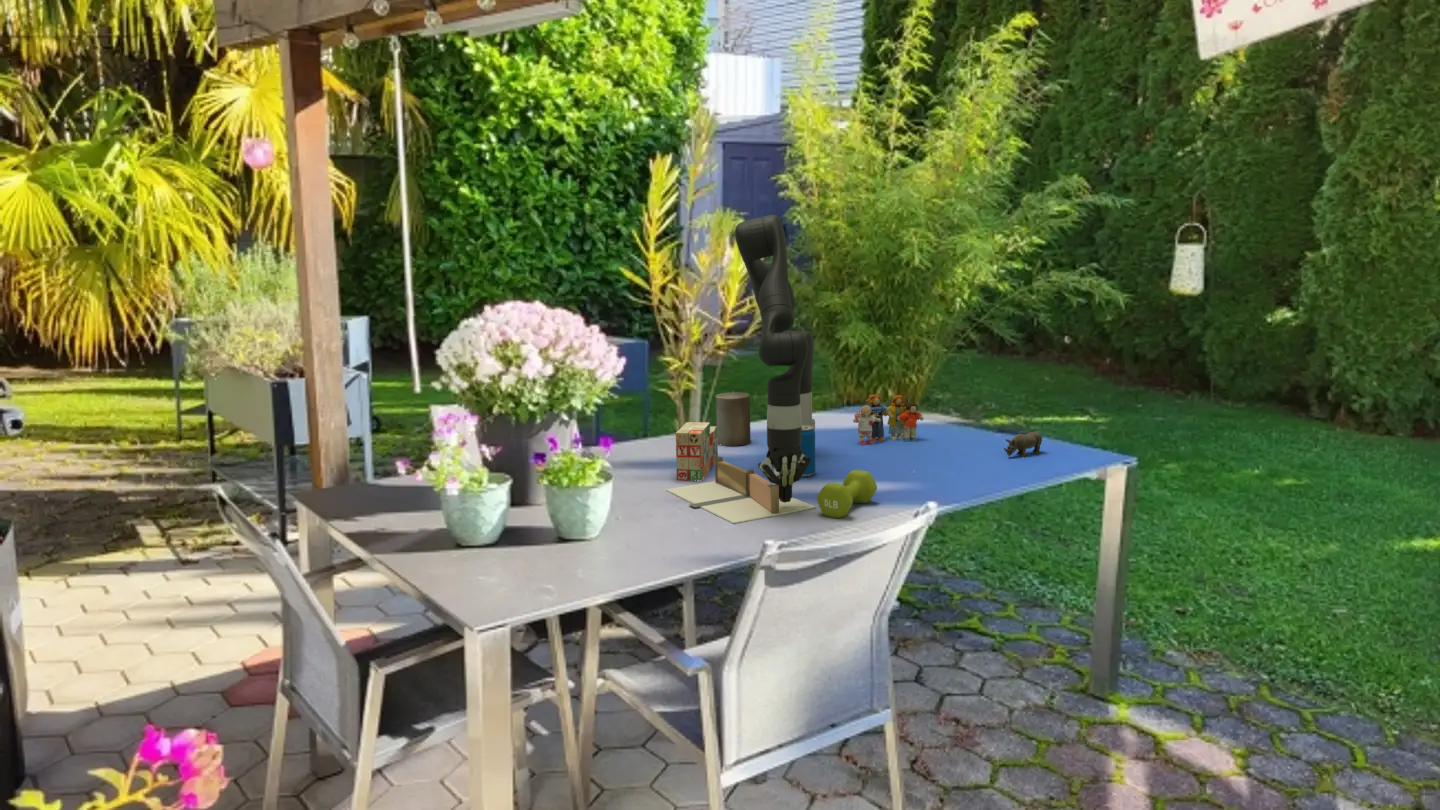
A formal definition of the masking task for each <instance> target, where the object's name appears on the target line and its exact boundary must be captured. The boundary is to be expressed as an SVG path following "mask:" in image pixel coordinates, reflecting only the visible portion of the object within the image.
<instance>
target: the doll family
mask: <svg viewBox="0 0 1440 810" xmlns="http://www.w3.org/2000/svg"><path fill="white" fill-rule="evenodd" d="M868 397H869V398H867V400H865V402H868V403H869V404H870V405H863V406H862V407H861V409H860V411H858V412H857V411H855V413H854V419H853V420H852V422H853V423H856V424H857V423H858V428H857V433H858V435H857V437H858V438H860V439H859V441H858V445H861V446H866V445H874V444H876V442H883V441H885V440H886V439H885V438H884V437H885V431H884V417H887V416H888V420H887V425H888V426H889V427H888V434H889V435H890V437H889V439H891V440H894V441H895V440H902V441H903V442H907V443H908V442H912V443H913V442H918V441H919V440H918V439H917V427H918V425H917V423H918V421H924V417H923V413H921V412H917V411H918V404H917V403H916V402H912V401H911V402H908V403H906V406H904V405H905V403H904V402H905V397H904V396H902V395H900V394H898V395H895V396H894V397H893V398H892V399H891V403H890V406H888V407H887V406H886V405H883V404H881V402H882V401H881V400H883V397H882V396H881V395H879V393H876V394H873V393H872V394H869V395H868ZM902 434H903V435H902ZM865 437H866V438H867V440H865Z"/></svg>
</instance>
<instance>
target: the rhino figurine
mask: <svg viewBox="0 0 1440 810" xmlns="http://www.w3.org/2000/svg"><path fill="white" fill-rule="evenodd" d="M1005 441H1006V442H1007V443H1009V444H1008V445H1006V447H1007V448H1005V447H1004V448H1003V450H1004V451H1005V452H1006V455H1007V456H1009V457H1010V456H1012V455H1013V454H1014V453H1015V452H1016V451H1017V453H1016V456H1020V457H1022V458H1026V457H1027V455H1026V452H1027V449H1029V450H1030V449H1033V450H1032V453H1033V454H1034V455H1041V452H1040V449H1041V445H1042V442H1043V437H1042V435H1041V434H1040V433H1038V431H1030V432H1028V433H1025V434H1023V433H1018V434H1016V435H1014V437H1013V438H1011V439H1007V438H1005Z"/></svg>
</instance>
